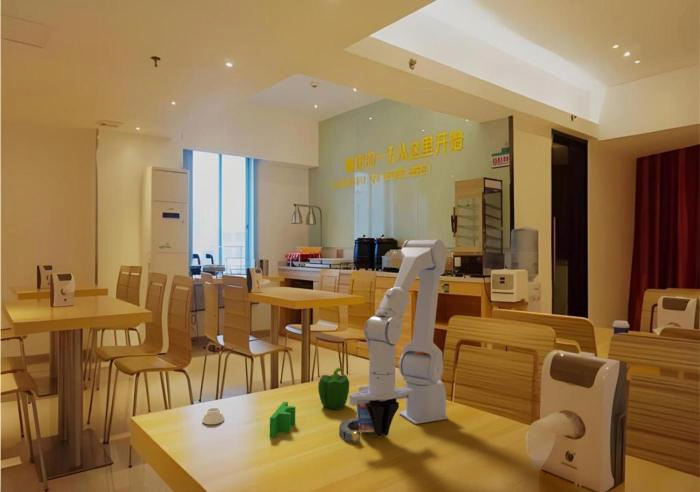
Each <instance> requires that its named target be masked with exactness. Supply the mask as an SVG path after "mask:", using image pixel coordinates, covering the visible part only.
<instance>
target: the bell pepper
mask: <svg viewBox="0 0 700 492" xmlns="http://www.w3.org/2000/svg"><path fill="white" fill-rule="evenodd" d="M341 371H343V367H340V366H338V367H337V368H335V370H334V371H333V374H331V375H327V374H324V375H321V377H320V379H319V381H318V382H317V383H318V395H319V399H320V402H321V404H322V406H323V408H327V409H333V410H342V409H344V408H345V405H346V403H347V401H348V398H349V392H350V380H349V378H348V376H347V374H342V375H341V374H339V373H338V372H341Z"/></svg>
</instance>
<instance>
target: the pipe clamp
mask: <svg viewBox="0 0 700 492" xmlns="http://www.w3.org/2000/svg"><path fill="white" fill-rule="evenodd" d="M295 426H296V406H291V405H289V402H288V401H283V402H282V403H280V405H279V407H277V409H276V410H275V411H274V412H273V414H272V415H271V416H270V417H269V439H276V437H277V436H278V434H289V435H290V434H291V431H292V430H291V427H295Z"/></svg>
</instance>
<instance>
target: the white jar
mask: <svg viewBox="0 0 700 492" xmlns="http://www.w3.org/2000/svg"><path fill="white" fill-rule="evenodd" d="M201 421H202V423H203V424H205V425H209V426H210V425H211V426H212V425H213V426H214V425H217V424H221V423H223V422H224V421H225V416H224V414H223V413H222V411H221V408H220V407H210V408H207V410H206V412H205V414H204V416H203V417H202V419H201Z"/></svg>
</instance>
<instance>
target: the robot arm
mask: <svg viewBox="0 0 700 492" xmlns="http://www.w3.org/2000/svg"><path fill="white" fill-rule="evenodd" d="M447 253H448V252H447V248H446V245H445V243H444V242H443V239H440V238H437V239H406V240H405V241H404V243H402V247H401V250H400V256H401V265H400V268H399V271H398V273H397V276H396V279H395V282H394V285H393V287H392V288H389V289H386V291H385V293H384V296H383V298H382V300H381V302H380V304H379V306H378V308H377V311H376V313H375V315H372V316H371V317H370V318H369V319H367V320H366V323H365V325H364V326H365V327H364V329H363V333H364V334H363V335H364V338H365V340H366V347H367V349H368V351H369V357H368V359H369V360H368V385H369V390H366V391H362V392H359V391H358V392H356V393H355V392H354V393H350V394H349V404H350V405H351V406H353V407H354V406H356V407H357V404H363V403H365V405H366V407H367V409H368V411H369V414H370V416H371V420H372V423H373V427H374V432H373V433H374V435H376V437H378V438H380V437H382V435H384V437H385V436H386V437H387V436H389V432H390V427H391V424H392V422H393V419H394V417H395V414H396V413H397V411H398V409H399V407H400V402H398V401H397V400H402V399H405V410H401V411H398V414H399V415H401V416H402V417H404V418H406V420H408V421H410V422H412V423H413V424H416V425H418V424H424V423H430V422H436V421H443V420H447V419H448V418H449V417H448V416H447V391H446V390H447V389H446V386H445V384H444V382H443V381H442V380H441V379H442V377H443V373H444V362H443V351H442V350H441V349H440V348H439V347H438V346H437V344H435V342H434V334H435V326H436V315H437V309H438V308H437V307H438V298H439V288H440V278H441V276H442V275H444V274H445V270H446V264H447ZM416 278H419V279H418V288H417V289H418V290H417V297H416V308H415V315H414V316H415V317H414V323H413V333H412V340H410V341H409V342H408V343H406V344H405V345H403V347H402V352H401V356H400V357H399V361H398V369H399V373H400V375H401V376H402V377H403V381H405V385H406V386H405V387H396V353H397V352H396V351H397V350H396V349H397V348H396V347H397V345H396V344H397V343H398V342H399V341H400V339H401V337H402V327H403V317H404V315H405V313H406V310H407V308H408V305H409V303H410V297H409V295H408V293H409V291H410V289H411V288H412V286H413V285H414V282H415V281H416ZM416 352H419V353H416ZM422 353H425V354H422Z"/></svg>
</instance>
